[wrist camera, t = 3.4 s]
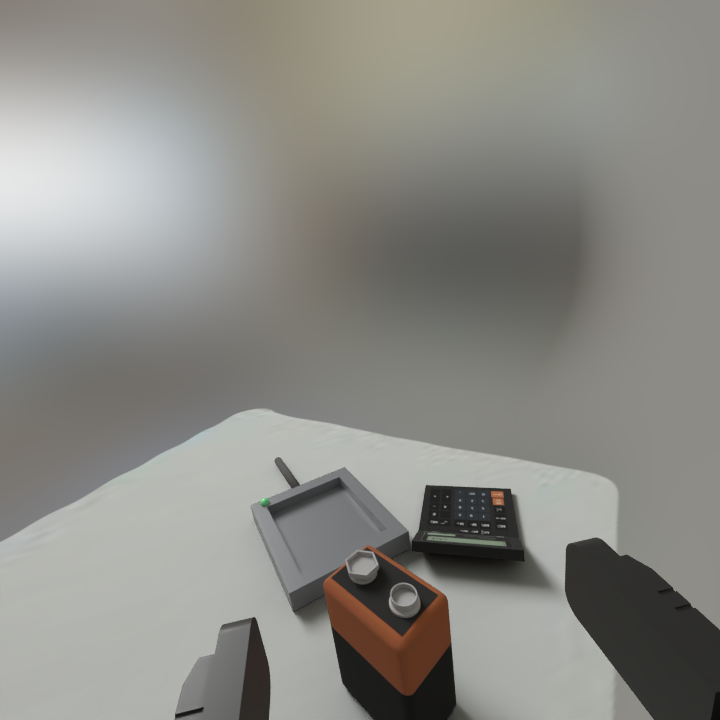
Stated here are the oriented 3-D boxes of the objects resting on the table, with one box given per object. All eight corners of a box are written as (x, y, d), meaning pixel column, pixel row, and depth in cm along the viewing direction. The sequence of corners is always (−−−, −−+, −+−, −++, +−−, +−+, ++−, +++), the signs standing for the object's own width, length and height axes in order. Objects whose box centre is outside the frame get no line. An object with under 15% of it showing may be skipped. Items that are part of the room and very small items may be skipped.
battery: (382, 637, 30) (366, 529, 27) (459, 704, 25) (450, 582, 22) (339, 684, 27) (316, 569, 24) (417, 770, 22) (400, 639, 19)
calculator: (510, 495, 44) (510, 472, 43) (524, 582, 33) (524, 554, 32) (426, 491, 46) (424, 469, 45) (414, 571, 36) (411, 544, 35)
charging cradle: (410, 548, 38) (407, 526, 37) (293, 612, 33) (287, 587, 32) (316, 448, 59) (313, 433, 58) (236, 478, 54) (232, 461, 53)
